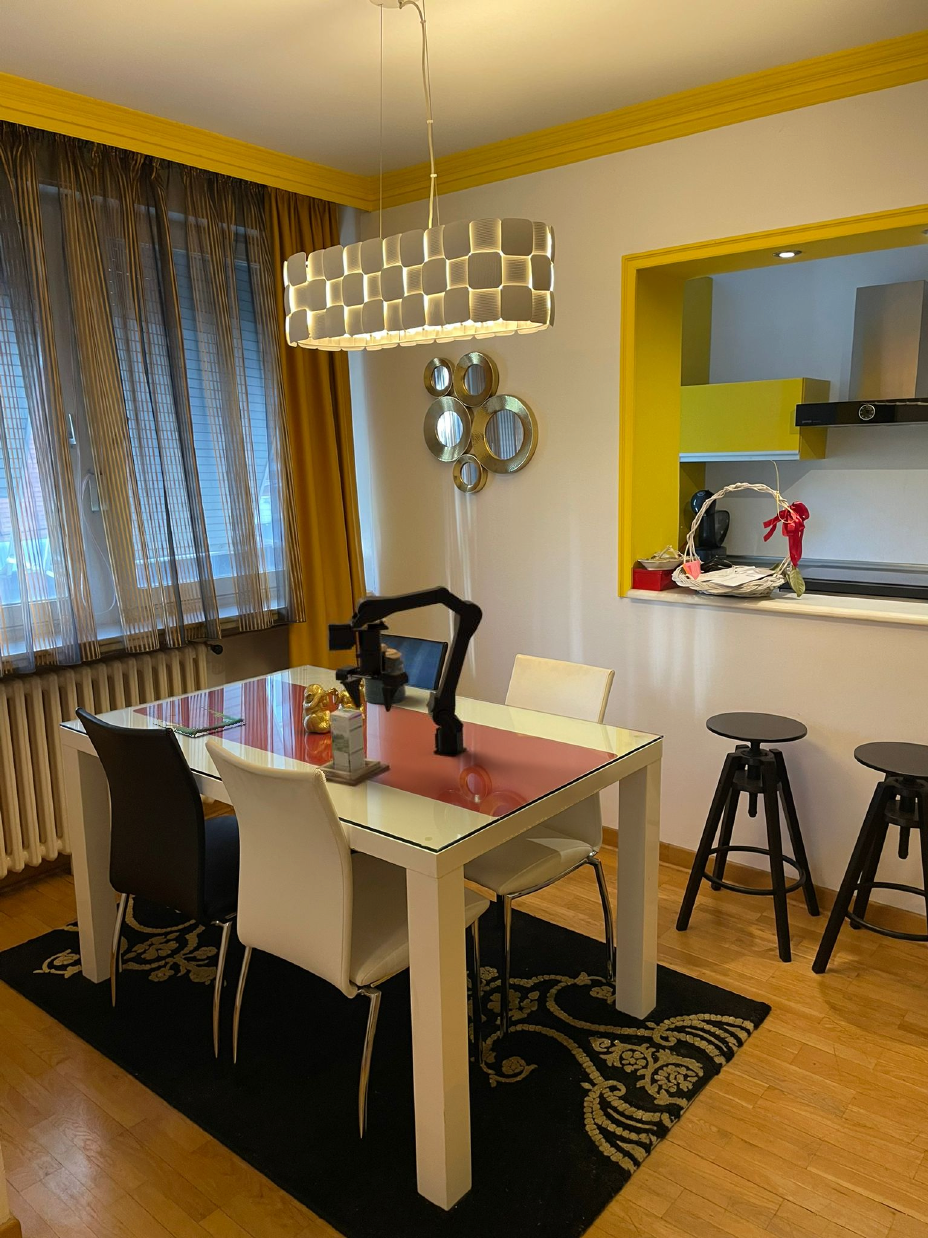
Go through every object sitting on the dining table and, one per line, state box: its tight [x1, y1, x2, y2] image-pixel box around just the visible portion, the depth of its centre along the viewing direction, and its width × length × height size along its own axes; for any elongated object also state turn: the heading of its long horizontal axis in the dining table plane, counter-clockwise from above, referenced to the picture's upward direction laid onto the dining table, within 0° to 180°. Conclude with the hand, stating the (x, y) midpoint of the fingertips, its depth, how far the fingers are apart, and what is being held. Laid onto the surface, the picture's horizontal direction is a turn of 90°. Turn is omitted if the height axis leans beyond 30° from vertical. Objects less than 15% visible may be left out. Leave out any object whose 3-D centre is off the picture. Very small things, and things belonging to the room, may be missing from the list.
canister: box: [363, 643, 407, 705], centre depth 287 cm, size 13×13×18 cm
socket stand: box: [315, 758, 390, 787], centre depth 221 cm, size 14×14×2 cm
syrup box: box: [329, 707, 366, 773], centre depth 220 cm, size 6×6×14 cm
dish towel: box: [156, 707, 245, 736], centre depth 267 cm, size 17×23×2 cm
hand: (373, 709), depth 228 cm, fingers open, 9 cm apart
